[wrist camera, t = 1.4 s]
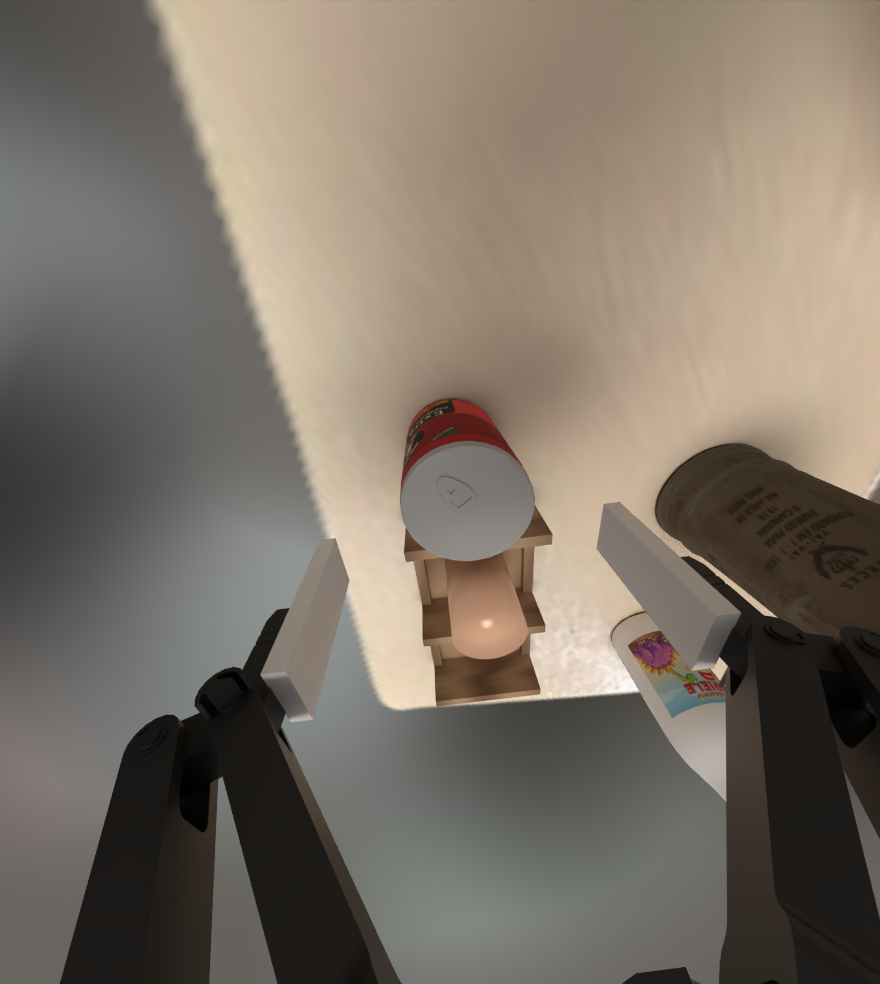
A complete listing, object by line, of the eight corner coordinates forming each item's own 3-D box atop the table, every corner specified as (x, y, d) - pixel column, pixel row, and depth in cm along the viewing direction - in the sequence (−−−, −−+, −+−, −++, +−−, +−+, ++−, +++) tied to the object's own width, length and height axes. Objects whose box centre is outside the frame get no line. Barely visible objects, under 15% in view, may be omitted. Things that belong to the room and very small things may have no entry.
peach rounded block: (501, 532, 31) (529, 604, 24) (502, 576, 34) (527, 654, 26) (441, 539, 31) (448, 614, 24) (447, 583, 34) (455, 663, 27)
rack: (530, 497, 31) (552, 534, 26) (525, 646, 42) (540, 694, 37) (406, 512, 31) (404, 552, 26) (434, 657, 42) (436, 706, 37)
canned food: (434, 378, 25) (443, 417, 15) (514, 427, 27) (565, 488, 18) (390, 457, 28) (375, 530, 18) (466, 495, 30) (487, 578, 21)
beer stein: (626, 513, 32) (881, 750, 15) (712, 419, 28) (1206, 607, 11) (718, 555, 37) (988, 770, 20) (803, 481, 33) (1241, 676, 16)
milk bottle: (656, 648, 44) (813, 869, 26) (602, 650, 43) (725, 876, 26) (679, 609, 40) (878, 837, 23) (619, 611, 40) (776, 844, 22)
